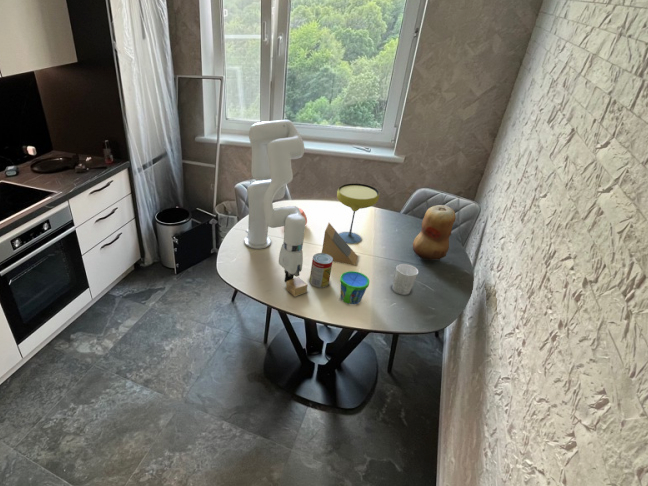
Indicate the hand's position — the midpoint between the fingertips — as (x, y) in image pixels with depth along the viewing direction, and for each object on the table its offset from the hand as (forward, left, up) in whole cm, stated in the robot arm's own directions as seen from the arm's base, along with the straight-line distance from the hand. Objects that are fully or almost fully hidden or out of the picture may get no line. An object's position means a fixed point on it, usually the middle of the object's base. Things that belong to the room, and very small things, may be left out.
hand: (288, 281), depth 167 cm
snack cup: (+20, +15, -1) cm, 25 cm away
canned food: (+5, +12, -1) cm, 13 cm away
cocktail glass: (-16, +48, -1) cm, 51 cm away
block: (+5, 0, -1) cm, 5 cm away
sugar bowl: (-40, +32, -1) cm, 51 cm away
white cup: (+25, +37, -1) cm, 45 cm away
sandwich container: (-5, +32, -1) cm, 32 cm away
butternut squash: (+14, +65, -1) cm, 66 cm away
